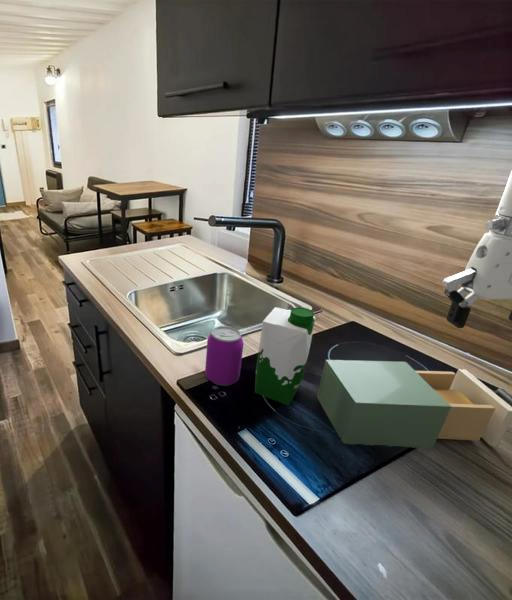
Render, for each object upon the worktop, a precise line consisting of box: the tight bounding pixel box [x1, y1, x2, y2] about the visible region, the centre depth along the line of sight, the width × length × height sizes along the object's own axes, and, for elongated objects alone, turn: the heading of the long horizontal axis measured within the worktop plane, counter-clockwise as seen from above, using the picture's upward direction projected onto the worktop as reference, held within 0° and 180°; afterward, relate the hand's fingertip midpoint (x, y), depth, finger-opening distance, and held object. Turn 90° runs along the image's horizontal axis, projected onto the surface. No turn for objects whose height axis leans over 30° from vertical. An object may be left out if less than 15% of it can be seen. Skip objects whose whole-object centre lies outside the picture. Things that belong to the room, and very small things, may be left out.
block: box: [434, 389, 474, 405], centre depth 67 cm, size 4×4×4 cm
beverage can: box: [204, 325, 245, 387], centre depth 82 cm, size 8×8×12 cm
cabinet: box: [316, 359, 451, 450], centre depth 68 cm, size 15×13×10 cm
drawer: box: [415, 368, 512, 447], centre depth 66 cm, size 19×11×8 cm, turn 83°
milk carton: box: [254, 306, 317, 407], centre depth 75 cm, size 9×9×20 cm
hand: (485, 323), depth 63 cm, fingers open, 9 cm apart
